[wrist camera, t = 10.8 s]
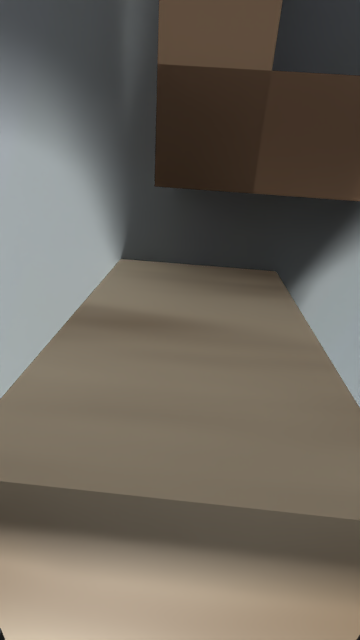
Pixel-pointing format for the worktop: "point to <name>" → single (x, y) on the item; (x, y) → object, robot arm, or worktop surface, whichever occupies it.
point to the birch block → (181, 468)
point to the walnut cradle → (248, 108)
